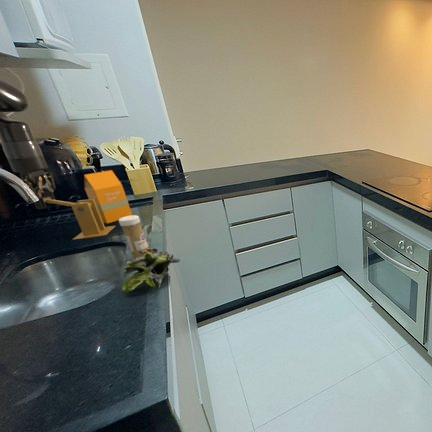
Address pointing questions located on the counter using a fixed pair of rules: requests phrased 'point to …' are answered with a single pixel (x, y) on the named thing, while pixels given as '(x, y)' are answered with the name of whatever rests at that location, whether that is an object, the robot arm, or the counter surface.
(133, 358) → the counter surface
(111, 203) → the orange juice
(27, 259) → the counter surface
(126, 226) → the sprinkles bottle
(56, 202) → the lever
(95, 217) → the wooden slotted stand
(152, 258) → the green leafy plant
